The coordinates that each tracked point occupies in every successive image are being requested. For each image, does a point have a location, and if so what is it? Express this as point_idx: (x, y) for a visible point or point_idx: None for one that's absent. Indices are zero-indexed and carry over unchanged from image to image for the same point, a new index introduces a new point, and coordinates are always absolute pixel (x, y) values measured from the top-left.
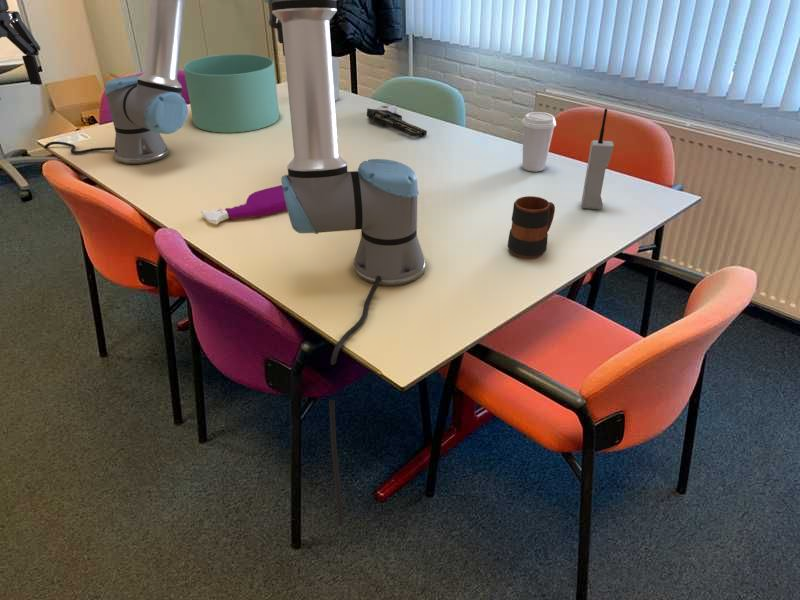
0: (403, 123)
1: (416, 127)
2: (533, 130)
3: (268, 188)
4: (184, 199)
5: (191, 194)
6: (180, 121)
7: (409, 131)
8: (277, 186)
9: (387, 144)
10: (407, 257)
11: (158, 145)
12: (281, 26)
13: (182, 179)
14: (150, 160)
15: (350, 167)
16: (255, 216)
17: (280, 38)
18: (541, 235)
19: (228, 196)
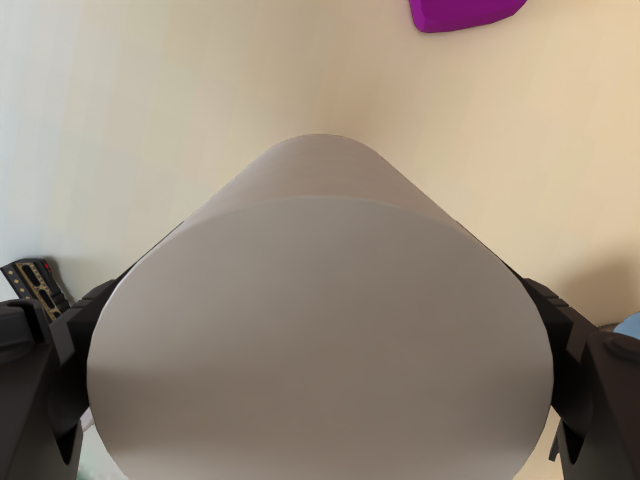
0: (48, 320)
1: (20, 289)
2: None
3: (475, 13)
4: (629, 104)
5: (604, 127)
6: (635, 328)
7: (43, 275)
8: (451, 15)
9: (113, 250)
10: None
11: None
12: (631, 355)
13: (587, 218)
14: (609, 327)
15: (229, 144)
16: None
17: (548, 299)
18: None
19: (540, 81)
